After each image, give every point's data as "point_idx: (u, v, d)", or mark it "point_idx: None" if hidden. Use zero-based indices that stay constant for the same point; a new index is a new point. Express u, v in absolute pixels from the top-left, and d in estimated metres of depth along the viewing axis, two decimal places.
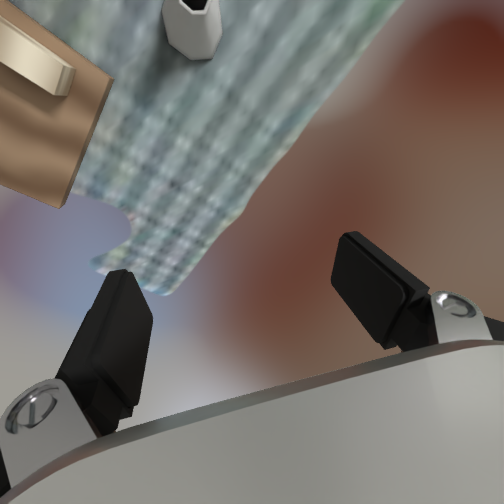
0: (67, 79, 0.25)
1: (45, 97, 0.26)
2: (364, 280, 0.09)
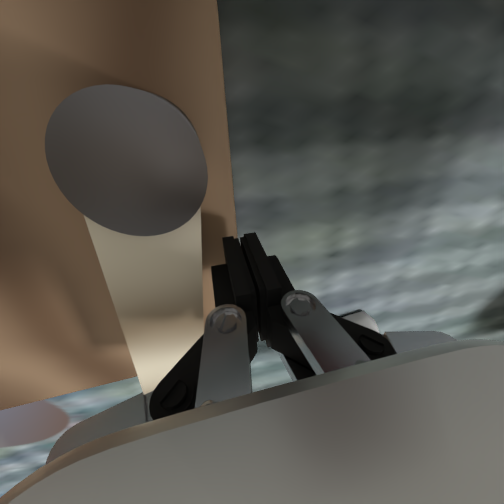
0: None
1: None
2: None
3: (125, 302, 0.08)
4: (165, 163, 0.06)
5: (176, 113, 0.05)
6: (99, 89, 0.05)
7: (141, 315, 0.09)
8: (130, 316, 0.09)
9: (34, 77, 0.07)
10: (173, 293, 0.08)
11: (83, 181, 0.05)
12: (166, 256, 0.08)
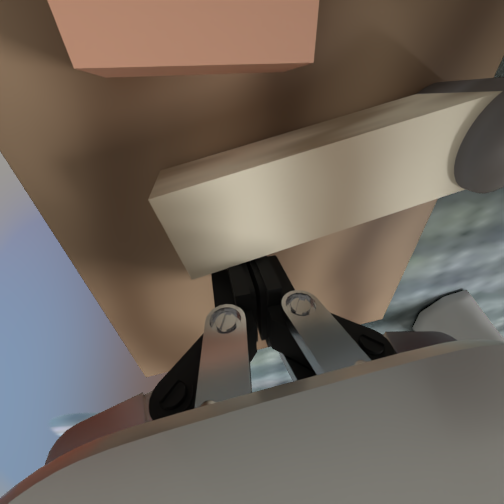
0: None
1: (325, 294, 0.16)
2: None
3: (383, 141, 0.07)
4: None
5: None
6: None
7: (359, 162, 0.07)
8: (359, 149, 0.07)
9: (381, 70, 0.09)
10: (382, 191, 0.08)
11: None
12: (426, 174, 0.08)
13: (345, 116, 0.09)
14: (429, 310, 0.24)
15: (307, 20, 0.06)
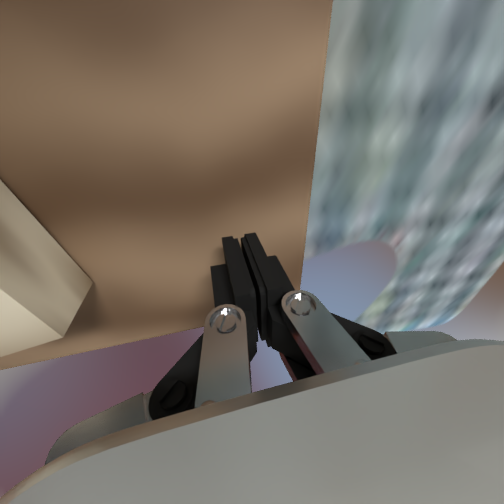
0: None
1: (194, 62, 0.07)
2: (251, 280, 0.09)
3: None
4: None
5: None
6: None
7: None
8: None
9: None
10: None
11: None
12: None
13: None
14: None
15: None
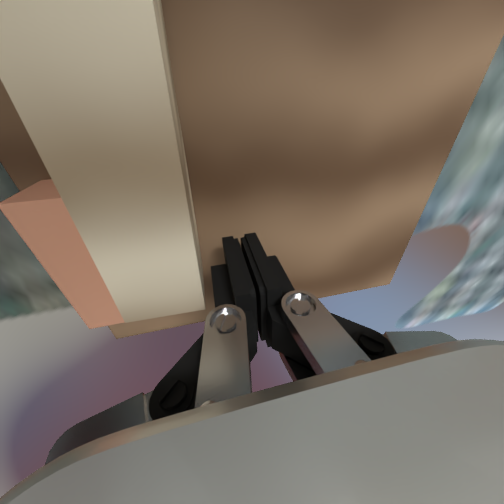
0: None
1: (398, 49, 0.09)
2: None
3: (38, 110, 0.05)
4: None
5: None
6: None
7: (76, 148, 0.05)
8: (56, 149, 0.05)
9: None
10: (119, 97, 0.05)
11: None
12: None
13: None
14: None
15: (40, 209, 0.07)
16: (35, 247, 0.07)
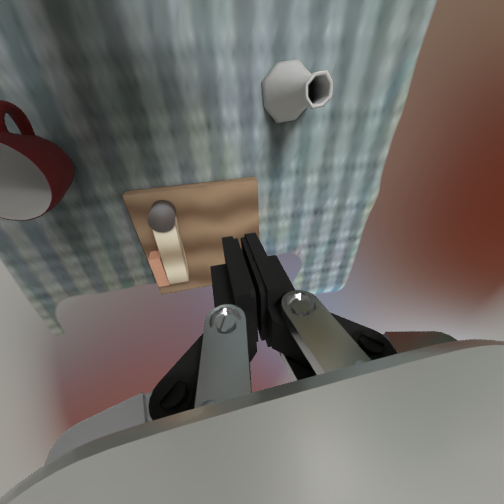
0: None
1: (231, 220, 0.38)
2: (251, 280, 0.09)
3: (161, 249, 0.34)
4: (166, 218, 0.31)
5: (167, 211, 0.30)
6: (155, 210, 0.30)
7: (165, 252, 0.34)
8: (162, 253, 0.34)
9: None
10: (172, 246, 0.34)
11: (152, 223, 0.31)
12: (169, 236, 0.33)
13: None
14: (274, 118, 0.32)
15: (154, 260, 0.36)
16: (152, 267, 0.36)
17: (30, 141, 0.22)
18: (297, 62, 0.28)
